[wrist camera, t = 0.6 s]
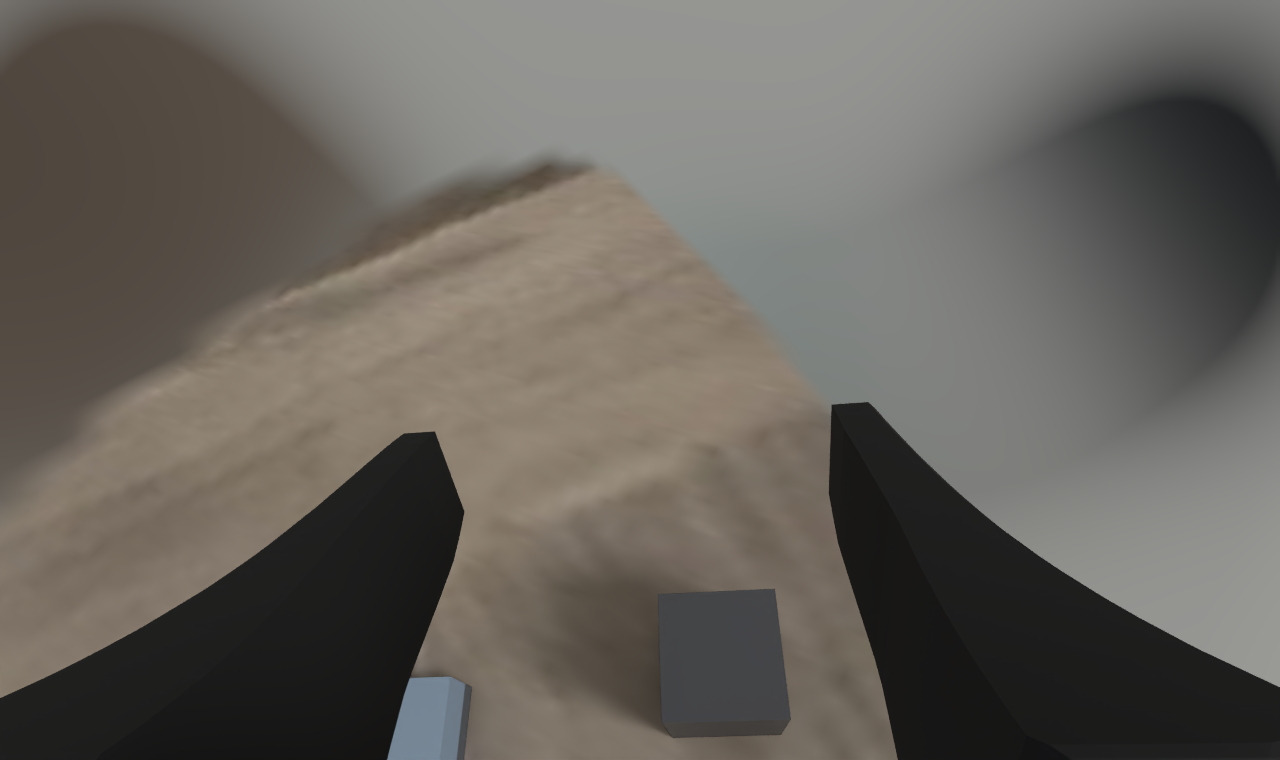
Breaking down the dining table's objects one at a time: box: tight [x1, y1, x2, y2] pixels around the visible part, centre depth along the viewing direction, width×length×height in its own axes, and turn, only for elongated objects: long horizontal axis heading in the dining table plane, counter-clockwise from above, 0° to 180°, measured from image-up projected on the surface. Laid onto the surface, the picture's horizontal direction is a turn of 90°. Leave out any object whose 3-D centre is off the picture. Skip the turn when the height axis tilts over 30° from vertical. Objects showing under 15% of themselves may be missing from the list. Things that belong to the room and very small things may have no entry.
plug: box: [658, 589, 791, 738], centre depth 24 cm, size 4×4×5 cm
